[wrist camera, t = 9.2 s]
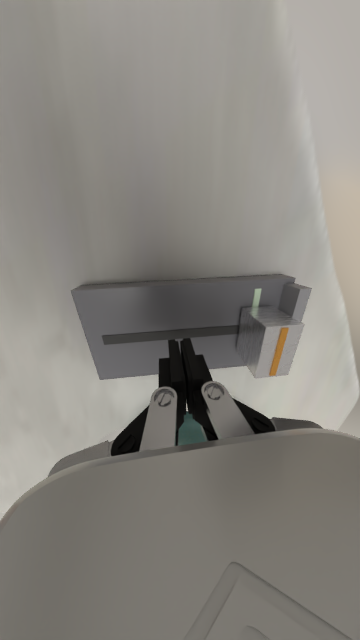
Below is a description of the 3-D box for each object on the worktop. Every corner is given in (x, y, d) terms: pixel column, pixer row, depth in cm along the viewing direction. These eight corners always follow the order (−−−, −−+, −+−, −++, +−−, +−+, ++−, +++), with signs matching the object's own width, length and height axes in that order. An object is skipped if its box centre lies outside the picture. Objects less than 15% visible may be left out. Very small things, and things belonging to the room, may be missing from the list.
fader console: (81, 285, 15) (56, 297, 12) (281, 274, 17) (313, 282, 13) (105, 367, 20) (92, 395, 16) (263, 352, 21) (284, 375, 18)
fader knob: (241, 307, 16) (266, 327, 12) (271, 305, 16) (305, 324, 12) (236, 350, 18) (255, 379, 14) (262, 348, 18) (288, 375, 14)
